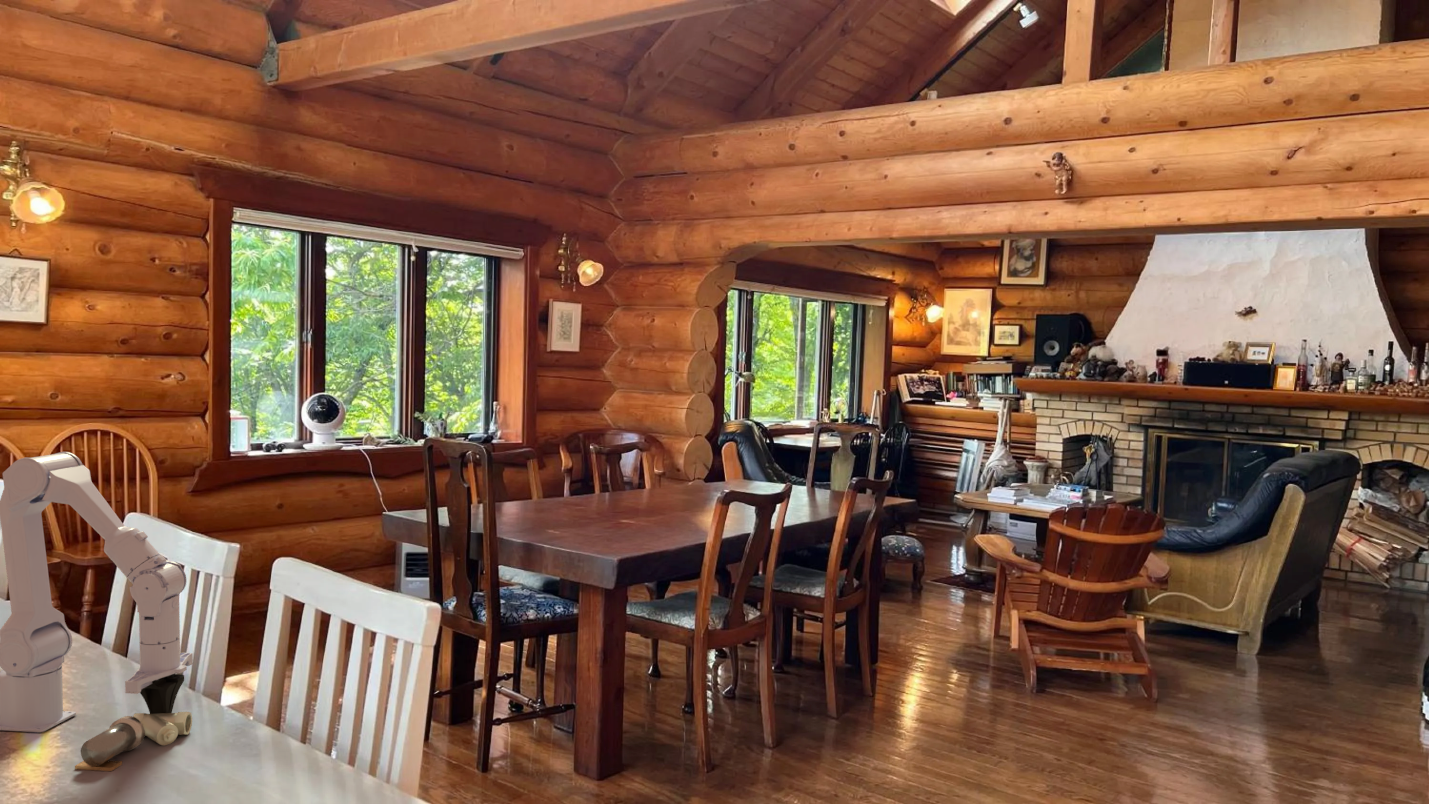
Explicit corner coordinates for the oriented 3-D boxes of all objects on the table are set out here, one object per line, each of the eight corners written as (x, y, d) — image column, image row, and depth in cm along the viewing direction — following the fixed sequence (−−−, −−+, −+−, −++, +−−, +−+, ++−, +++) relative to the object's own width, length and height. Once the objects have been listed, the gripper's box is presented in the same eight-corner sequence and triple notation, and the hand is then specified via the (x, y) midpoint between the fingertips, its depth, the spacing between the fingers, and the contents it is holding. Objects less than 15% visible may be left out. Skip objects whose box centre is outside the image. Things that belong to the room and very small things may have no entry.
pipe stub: (111, 771, 149) (110, 737, 149) (74, 769, 149) (74, 735, 149) (147, 748, 157) (146, 716, 157) (112, 746, 158) (111, 715, 157)
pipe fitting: (177, 749, 158) (192, 729, 165) (175, 726, 158) (191, 706, 164) (121, 751, 157) (139, 731, 164) (120, 727, 157) (138, 708, 163)
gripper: (155, 654, 157) (156, 741, 158) (209, 627, 171) (210, 707, 172) (111, 652, 157) (113, 738, 158) (169, 626, 172) (170, 705, 173)
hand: (161, 722), depth 165 cm, fingers closed
